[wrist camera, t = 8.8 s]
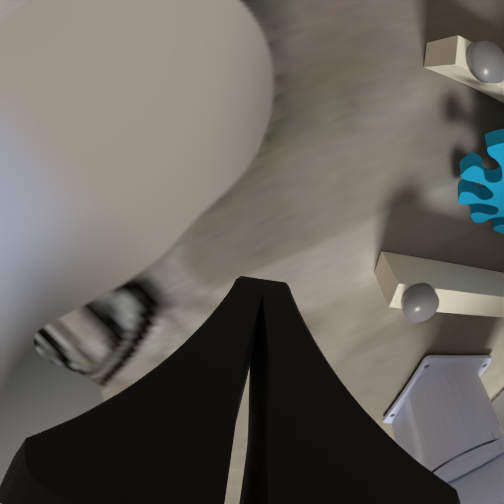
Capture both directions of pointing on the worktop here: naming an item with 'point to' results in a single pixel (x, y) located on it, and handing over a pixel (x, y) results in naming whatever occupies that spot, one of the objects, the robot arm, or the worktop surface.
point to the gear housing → (437, 272)
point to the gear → (484, 183)
